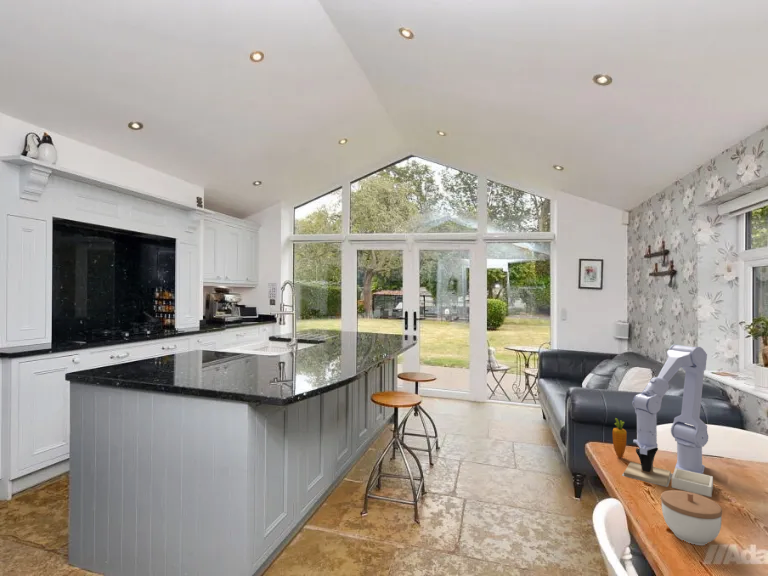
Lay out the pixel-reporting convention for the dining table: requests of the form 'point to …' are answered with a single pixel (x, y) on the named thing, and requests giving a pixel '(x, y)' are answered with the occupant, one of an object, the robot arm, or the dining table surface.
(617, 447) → the carrot
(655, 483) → the rubber mat
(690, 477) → the cream dish
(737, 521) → the dining table surface
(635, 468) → the oak lid
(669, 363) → the robot arm
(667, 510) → the lidded bowl
